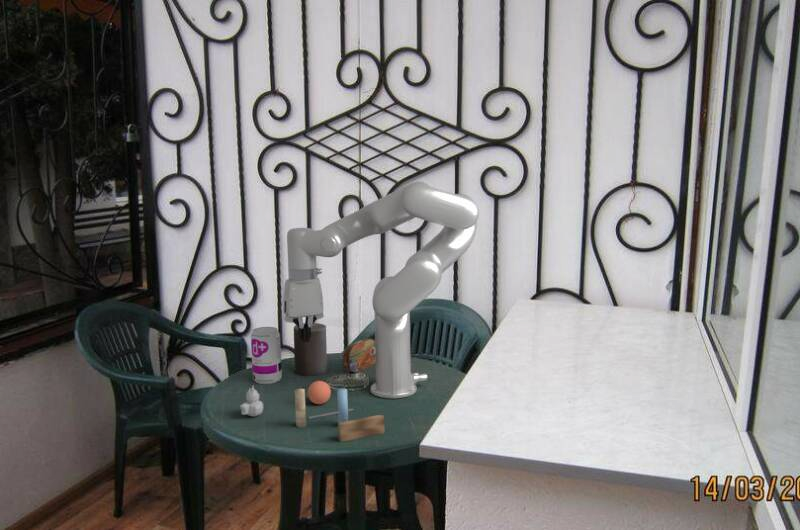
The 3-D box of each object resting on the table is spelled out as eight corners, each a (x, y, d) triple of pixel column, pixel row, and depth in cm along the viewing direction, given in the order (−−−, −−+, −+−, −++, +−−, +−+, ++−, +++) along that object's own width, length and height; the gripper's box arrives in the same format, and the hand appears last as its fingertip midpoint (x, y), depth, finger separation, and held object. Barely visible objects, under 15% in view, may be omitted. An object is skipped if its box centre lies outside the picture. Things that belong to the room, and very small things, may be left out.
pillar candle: (295, 377, 210) (294, 327, 208) (293, 366, 220) (292, 319, 217) (329, 374, 212) (328, 325, 210) (325, 364, 222) (324, 317, 219)
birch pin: (304, 423, 176) (302, 387, 175) (307, 426, 174) (305, 390, 173) (294, 424, 175) (293, 389, 174) (297, 428, 173) (296, 392, 172)
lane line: (352, 409, 185) (352, 408, 185) (353, 410, 184) (353, 409, 184) (307, 417, 180) (307, 417, 179) (309, 419, 179) (308, 418, 179)
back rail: (381, 430, 171) (381, 414, 170) (384, 432, 169) (384, 416, 169) (338, 439, 166) (337, 423, 165) (340, 442, 165) (340, 425, 164)
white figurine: (269, 414, 182) (267, 384, 181) (248, 422, 177) (246, 391, 176) (255, 409, 186) (253, 380, 184) (234, 417, 181) (232, 387, 179)
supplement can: (268, 386, 203) (266, 335, 200) (247, 381, 207) (244, 331, 205) (287, 378, 210) (285, 328, 207) (266, 373, 214) (263, 324, 211)
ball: (326, 397, 193) (325, 376, 192) (334, 405, 188) (333, 382, 187) (305, 401, 191) (304, 380, 190) (312, 409, 185) (311, 386, 184)
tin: (350, 376, 211) (349, 348, 209) (341, 374, 212) (340, 346, 211) (379, 362, 223) (378, 336, 222) (371, 360, 225) (370, 334, 223)
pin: (346, 423, 176) (345, 387, 174) (349, 426, 174) (348, 390, 172) (337, 425, 175) (335, 389, 173) (340, 428, 172) (339, 392, 171)
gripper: (324, 269, 198) (326, 334, 202) (271, 274, 192) (274, 341, 195) (334, 274, 192) (335, 340, 195) (279, 279, 185) (282, 348, 189)
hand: (304, 340), depth 195 cm, fingers closed
